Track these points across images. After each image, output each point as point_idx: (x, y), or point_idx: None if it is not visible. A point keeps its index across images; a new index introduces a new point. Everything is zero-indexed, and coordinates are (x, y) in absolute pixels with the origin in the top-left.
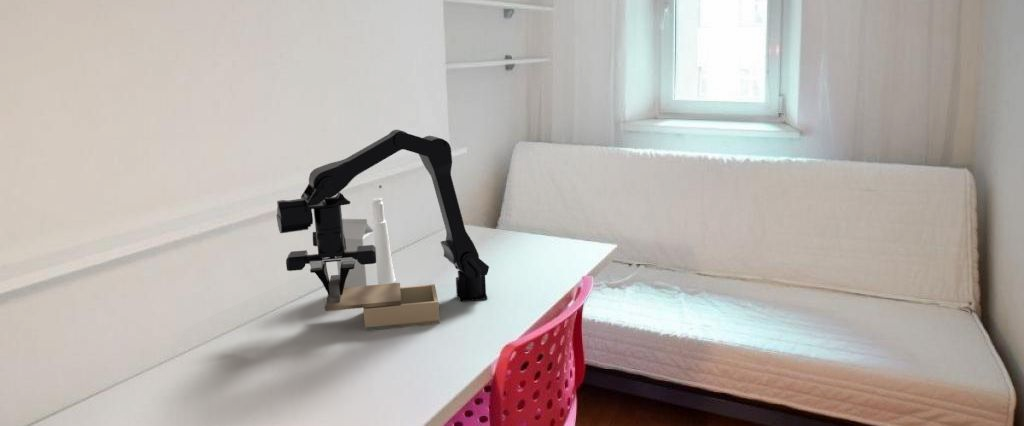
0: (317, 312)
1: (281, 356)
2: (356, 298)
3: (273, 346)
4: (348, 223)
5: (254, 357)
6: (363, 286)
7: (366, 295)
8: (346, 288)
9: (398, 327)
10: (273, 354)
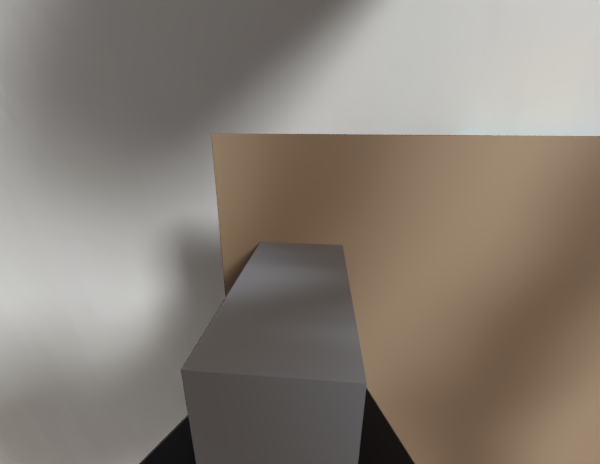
0: (185, 81)
1: None
2: (449, 423)
3: (107, 392)
4: None
5: (81, 439)
6: (584, 151)
7: (539, 395)
8: (391, 169)
9: None
10: (128, 439)
